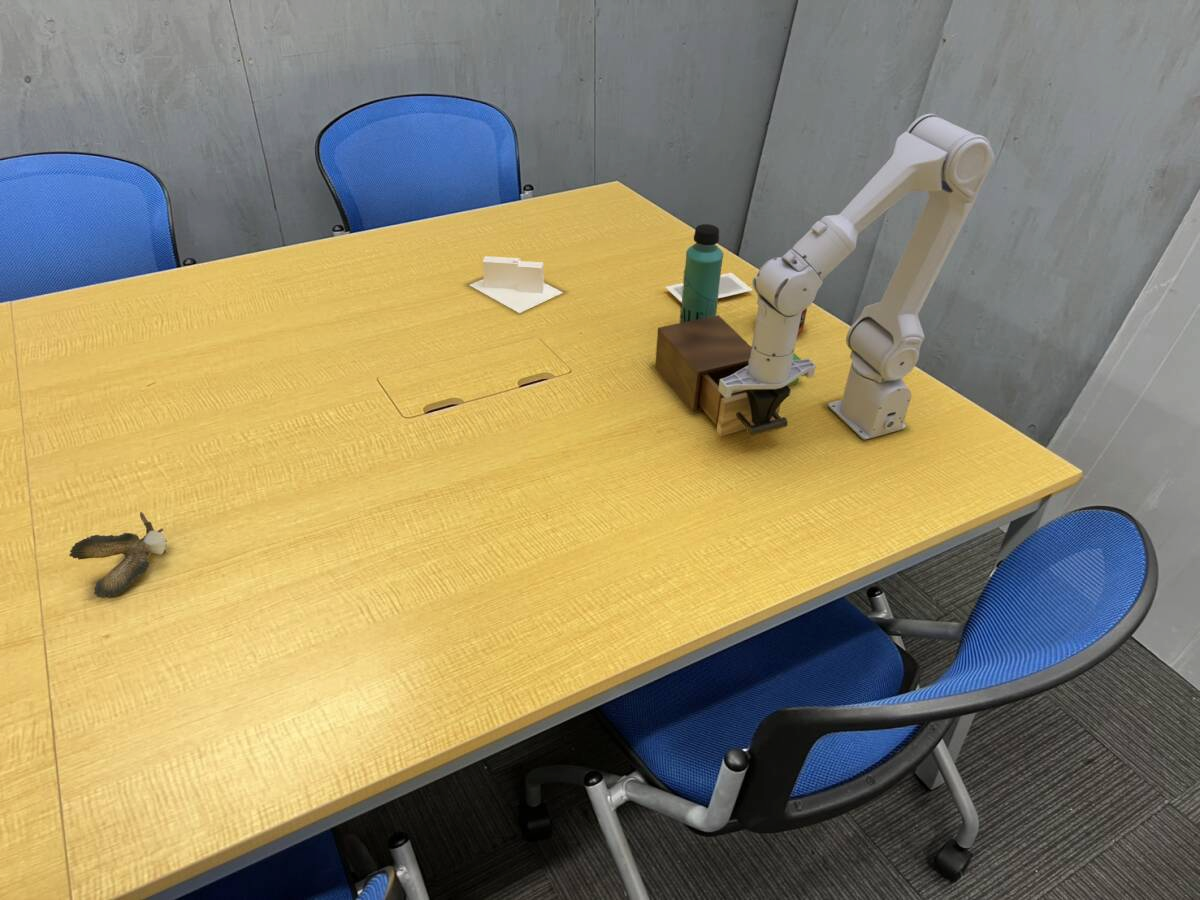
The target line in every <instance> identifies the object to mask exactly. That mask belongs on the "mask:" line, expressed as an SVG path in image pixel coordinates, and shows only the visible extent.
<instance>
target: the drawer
mask: <svg viewBox="0 0 1200 900" xmlns="http://www.w3.org/2000/svg"><path fill="white" fill-rule="evenodd" d="M748 365H749V364H748V363H747V364H743V365H739V366H735V367H730V368H726V369H722V370H717V371H713V372H709V373H704V374H701V376H700V384H699V393H698V401H697V403H698V405H699V406H700V407H701V408H702V409H703V410H702V411H703V412H704V413H705V415H707V416H708V418H709V419H710V420H711V421H712V422H713V423H714V425H715V426H716V432H717V433H718V434H719V436H720V437H721V436H725V435H728V434H733V433H736V432H741V431H744V430H746V431H747V434H748V436H750V437H752V436H756V435H759V434H763V433H766V432H767V433H768V432H771V431H774V430H779V429H783V428H785V427H787V426H788V422H789V421H788V419H787V418H786V417H785V416H784V417H781V416H780V410H781V405H782V403H781V404H780V405H779V407H778V408H777V409H776V411H775V412H774V414H773V416H772V417H771V419H770V421H767V422H763V423H760V424H756V425H755V424H754V423H753V422H752V415H751V408H750V403H749V399H748V396H747V394H746V391H745V390H743V391H739V392H735V393H732V395H731V397H727V398H725V397H724V396H723V395H722V394H721V393H720V392H719V390H718V389H719V382H720V379H723V378H726V377H728V376H730V375H732V374H734V373H736V372H737V371H739V370H741V369H743V368H744V367H746V366H748Z"/></svg>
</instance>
